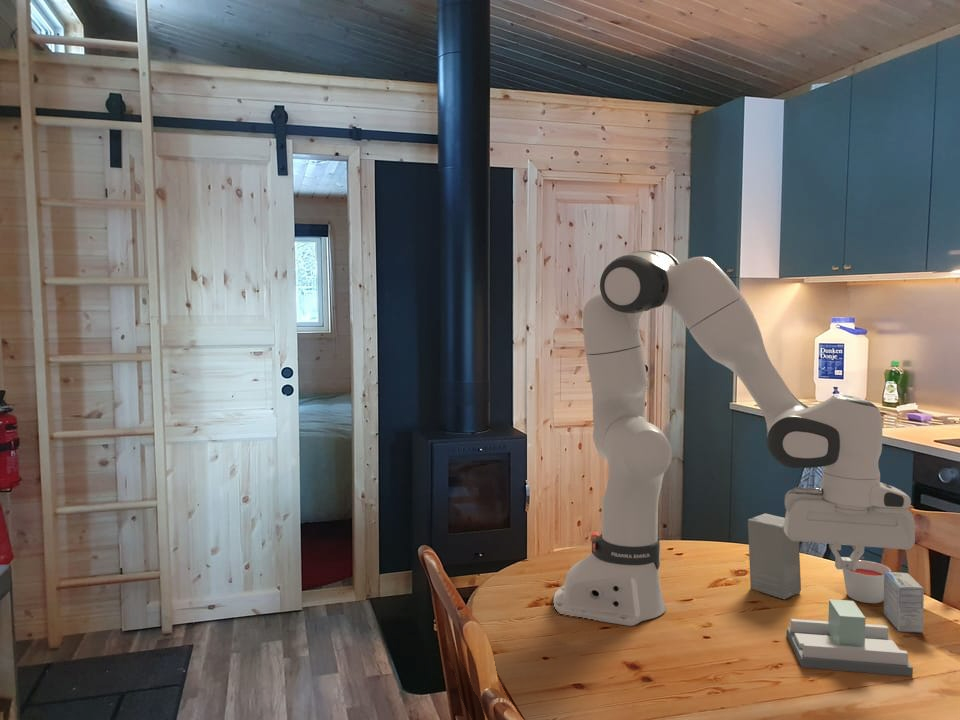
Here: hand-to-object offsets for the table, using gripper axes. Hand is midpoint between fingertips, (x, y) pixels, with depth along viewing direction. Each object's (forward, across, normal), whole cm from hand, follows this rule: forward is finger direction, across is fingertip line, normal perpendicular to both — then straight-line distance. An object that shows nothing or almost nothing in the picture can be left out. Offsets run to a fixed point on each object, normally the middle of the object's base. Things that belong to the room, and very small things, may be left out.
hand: (845, 568), depth 125 cm
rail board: (+15, +1, 0) cm, 15 cm away
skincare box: (+15, -6, +27) cm, 32 cm away
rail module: (+13, +1, 0) cm, 13 cm away
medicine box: (+15, +15, +15) cm, 26 cm away
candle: (+15, +12, +27) cm, 33 cm away
